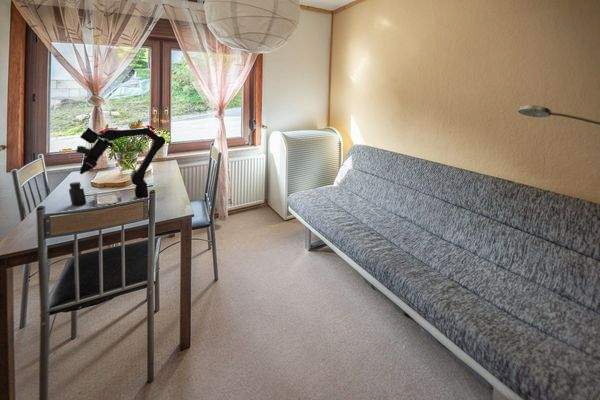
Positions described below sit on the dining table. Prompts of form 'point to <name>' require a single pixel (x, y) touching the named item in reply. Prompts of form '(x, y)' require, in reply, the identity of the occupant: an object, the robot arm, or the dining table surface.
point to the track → (107, 199)
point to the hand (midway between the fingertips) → (80, 172)
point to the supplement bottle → (77, 194)
